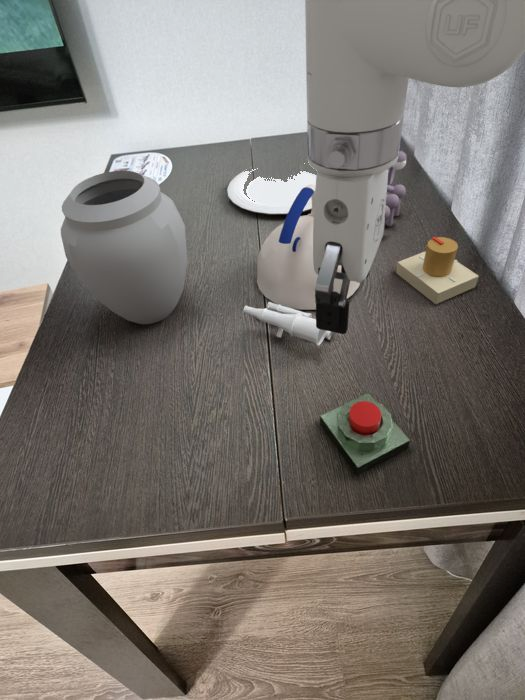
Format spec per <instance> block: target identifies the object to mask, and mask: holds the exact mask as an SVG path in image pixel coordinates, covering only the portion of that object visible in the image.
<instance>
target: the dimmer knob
mask: <svg viewBox="0 0 525 700" xmlns="http://www.w3.org/2000/svg"><path fill="white" fill-rule="evenodd" d="M458 249H459V244H458V243H457V242H456V241H455V240H454V239H452V238H449V237H445V236H432V237H431V239H429V240H428V241H427V244H426V248H425V251H426V253H425V258H424V263H423V270H424V271H425V272H426V273H427V274H429V275H431V276H436V277H442V276H446V275H448V274H450V273H451V271H452V267H453V264H454V260H456V256H457V252H458Z"/></svg>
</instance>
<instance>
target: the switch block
mask: <svg viewBox="0 0 525 700" xmlns="http://www.w3.org/2000/svg"><path fill="white" fill-rule="evenodd" d="M361 401H367V402H371V403H373V404H375V405H376V406H377V407H378V408H379V409H380V411H381V422H380V426H379V428H378V430H377V431H375V432H374V433H372V434H360V433H358V432H356V431H354V430H353V429H352V428H351V426H350V424H349V412H350V408H351V407H352V406H353V405H354V404H355V403H357V402H361ZM319 425H320V426H321V429H322V430H323V431H324V432H325V434H326V435H327V436H328V438H329V439H330V441H331V442H332V443H333V446H334V447H335V448H336V449H337V450H338V452H339V454H340V455H341V456H342V457H343V459H344V460H345V462H346V463H347V465H348V466H349V467H350V469H351V470H352V471H353V473H354V474H355V476H359V475H361V474H364V473H366V472H367V471H370V470H371V469H372V468H374V467H377V466H379V465H380V464H382V463H384V462H386V461H388V460H390V459H392V458H394V457H397V456H398V455H400V454H401V453H403V452H405V451H407V450H408V448H409V445H410V442H411V440H410V438H409V437H408V436H407V435H406V434H405V432H404V431H403V430H402V429H401V428H400V427H399V426H398V425H397V424H396V422H395V421H394V420H393V418H392V414H391V413H390V412H389V410H388V409H387V408H386V407H385V405H383V404H382V403H380V402H378V401H377V400H376V399H375V398H374V397H373V396H372V395H371V394H370V393H369V392H366V393H365V394H363V395H361V396H359V397H357V398H354V399H351V400H350V401H347V402H345V403H344V404H341V405H339V406H338V407H335V408H333V409H331V410H329V411H327V412H325V413H323V414H321V415H320V416H319Z"/></svg>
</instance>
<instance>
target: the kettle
mask: <svg viewBox="0 0 525 700" xmlns="http://www.w3.org/2000/svg"><path fill="white" fill-rule="evenodd" d="M315 187H316V185H313V184H310V185H307V186H306V187H304V188H303V189H302V190H301V191H300V193H299V194H298V195H297V197H296V199H295V201H294V202H293V204H292V206H291V208H290V210H289V212H288V214H286V217H285V220H284V222H283V223H280V224H279V225H278V226H277V227H275V228H274V229H273V230H272V231H271V232H270V234H269V235H268V236H267V237H266V239H265V240H264V241H263V242H262V245H261V247H260V250H259V252H258V255H257V261H256V284H257V286H258V289H259V291H260V292H261V294H262V295H263V296H264V297H265V298H266V299H268V300H269V301H270V302H272V303H274V304H277V305H279V304H280V305H281V306H284V307H288V308H291V309H295V310H298V311H314V310H315V311H316V303H315V285H316V281H317V278H318V275H317V274H316V272H315V270H314V264H313V222H314V202H315V197H314V195H315ZM310 198H311V199H312V209H311V211H310V213H308V214H307V215H305V214H304V215H302V213H303V212H302V211H303V209H304V207H305V206H306V204H307V202H308V200H309V199H310ZM337 272H341V265H338V269H337ZM341 273H342V272H341ZM342 281H343V280H340V279H334V284H333V287H334V289H333V291H335V292H338V293H339V294H340V291H341V286H342ZM360 285H361V282H360V283H357V282H355V281H350V285H349V289H348V294H347V299H349V298H351V296H353V295H354V294H355V292H356V291H357V290H358V289H359V288H360Z"/></svg>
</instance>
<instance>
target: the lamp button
mask: <svg viewBox="0 0 525 700" xmlns="http://www.w3.org/2000/svg"><path fill="white" fill-rule="evenodd" d="M380 422H381V411H380V409H379V408H378V407H377V406H376V405H375V404H373V403H371V402H367V401H361V402H357V403H355V404H354V405H353V406H352V407H351V408H350V412H349V424H350V426H351V428H352V429H353V430H354V431H356V432H358V433H360V434H372V433H374V432H375V431H377V430H378V428H379V426H380Z"/></svg>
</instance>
